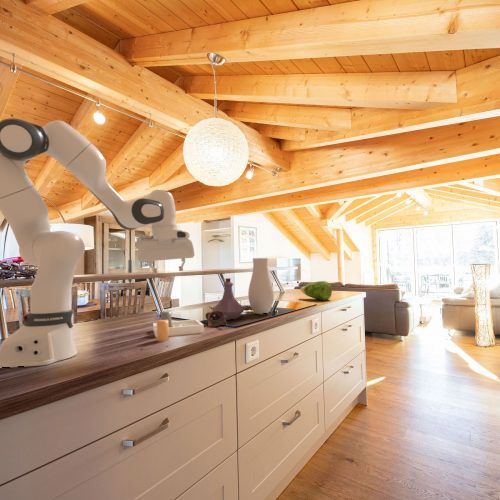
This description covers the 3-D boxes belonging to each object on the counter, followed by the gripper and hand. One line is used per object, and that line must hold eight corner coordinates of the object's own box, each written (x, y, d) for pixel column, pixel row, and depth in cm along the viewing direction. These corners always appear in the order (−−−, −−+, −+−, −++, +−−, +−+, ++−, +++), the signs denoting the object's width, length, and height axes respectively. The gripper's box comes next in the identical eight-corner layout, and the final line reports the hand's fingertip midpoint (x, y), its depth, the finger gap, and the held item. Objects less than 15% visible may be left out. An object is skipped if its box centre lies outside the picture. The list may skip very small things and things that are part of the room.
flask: (227, 322, 152) (226, 279, 153) (205, 318, 164) (204, 278, 164) (251, 317, 164) (251, 278, 165) (229, 314, 176) (229, 277, 176)
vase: (243, 314, 175) (242, 258, 176) (259, 311, 185) (258, 258, 186) (263, 316, 166) (262, 257, 167) (279, 313, 176) (278, 257, 177)
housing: (155, 340, 120) (155, 329, 120) (153, 333, 132) (153, 323, 132) (203, 335, 126) (203, 324, 127) (197, 329, 139) (196, 319, 139)
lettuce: (306, 297, 246) (306, 280, 246) (334, 299, 230) (334, 280, 231) (295, 299, 235) (295, 281, 236) (324, 301, 220) (324, 282, 220)
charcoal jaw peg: (161, 334, 125) (161, 313, 125) (160, 332, 129) (160, 311, 129) (172, 333, 127) (171, 312, 127) (170, 331, 130) (170, 311, 131)
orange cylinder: (157, 345, 113) (157, 322, 113) (156, 342, 117) (156, 320, 117) (169, 344, 114) (169, 321, 115) (168, 341, 118) (167, 319, 118)
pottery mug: (233, 327, 145) (230, 312, 141) (218, 340, 138) (216, 325, 134) (213, 317, 152) (210, 303, 148) (198, 330, 145) (195, 315, 141)
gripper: (134, 236, 115) (137, 275, 116) (192, 232, 119) (195, 270, 119) (137, 237, 122) (140, 274, 122) (192, 233, 126) (195, 269, 126)
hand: (168, 272), depth 121 cm, fingers open, 8 cm apart
